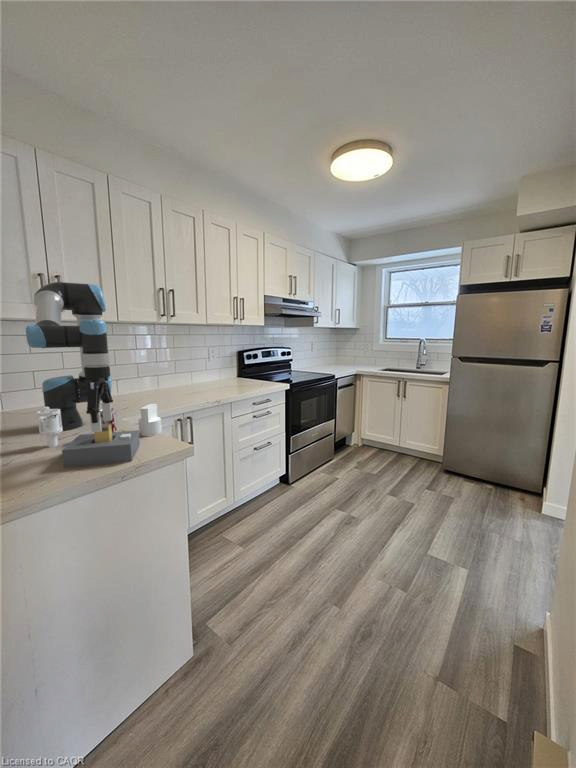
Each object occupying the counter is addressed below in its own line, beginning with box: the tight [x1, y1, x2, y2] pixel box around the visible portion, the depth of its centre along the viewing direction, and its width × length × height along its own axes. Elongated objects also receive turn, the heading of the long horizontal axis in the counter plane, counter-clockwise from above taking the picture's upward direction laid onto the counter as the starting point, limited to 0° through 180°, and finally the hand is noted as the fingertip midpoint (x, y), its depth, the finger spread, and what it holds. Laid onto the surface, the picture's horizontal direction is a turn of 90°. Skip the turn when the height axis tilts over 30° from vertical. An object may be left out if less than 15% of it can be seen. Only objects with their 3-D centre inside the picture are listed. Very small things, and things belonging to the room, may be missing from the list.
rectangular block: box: [93, 423, 113, 443], centre depth 110 cm, size 4×4×10 cm
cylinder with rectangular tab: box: [138, 403, 163, 437], centre depth 135 cm, size 9×9×12 cm
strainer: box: [36, 406, 63, 448], centre depth 119 cm, size 7×7×15 cm
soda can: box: [99, 407, 118, 432], centre depth 129 cm, size 7×7×12 cm
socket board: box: [61, 429, 141, 468], centre depth 110 cm, size 16×20×7 cm
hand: (102, 425), depth 109 cm, fingers open, 13 cm apart
